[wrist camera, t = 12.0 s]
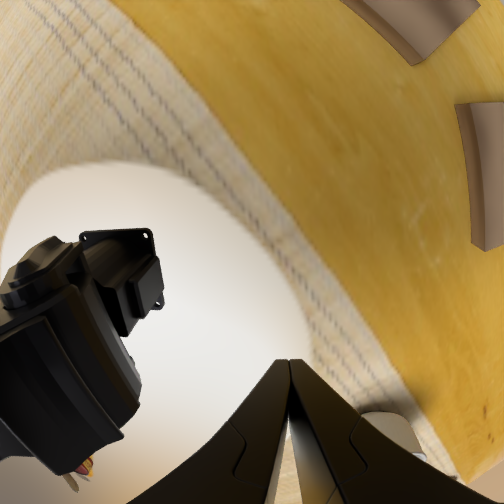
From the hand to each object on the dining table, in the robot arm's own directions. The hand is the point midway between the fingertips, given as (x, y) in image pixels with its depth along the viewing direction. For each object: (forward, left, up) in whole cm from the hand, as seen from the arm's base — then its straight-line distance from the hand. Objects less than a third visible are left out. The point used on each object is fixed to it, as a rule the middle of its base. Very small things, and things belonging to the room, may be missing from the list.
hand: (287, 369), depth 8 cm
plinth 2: (+19, +6, -12) cm, 24 cm away
